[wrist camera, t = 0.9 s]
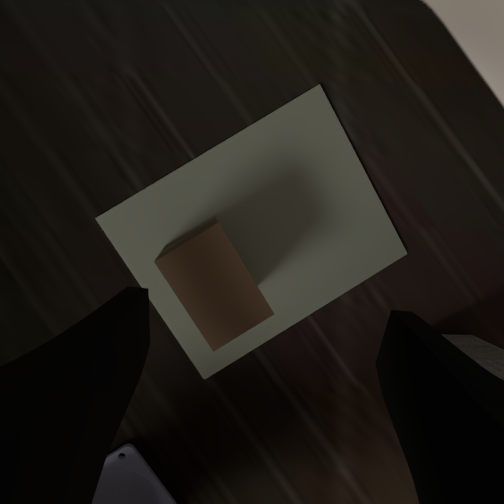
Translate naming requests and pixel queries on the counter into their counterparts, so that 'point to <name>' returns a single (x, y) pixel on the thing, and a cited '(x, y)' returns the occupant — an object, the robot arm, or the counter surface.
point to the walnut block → (213, 284)
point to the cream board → (264, 222)
